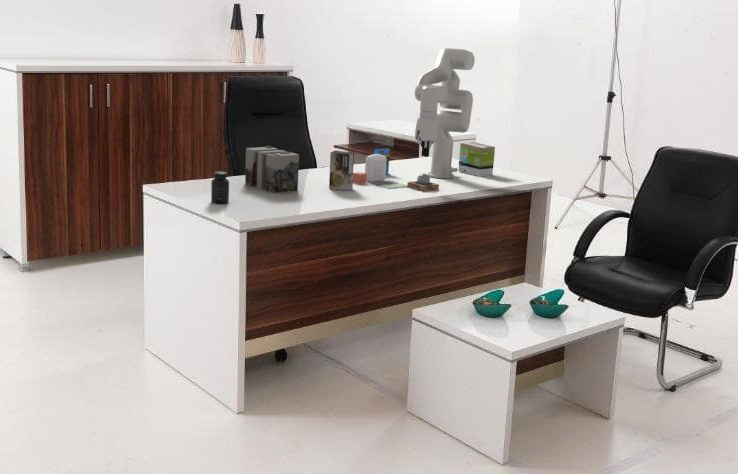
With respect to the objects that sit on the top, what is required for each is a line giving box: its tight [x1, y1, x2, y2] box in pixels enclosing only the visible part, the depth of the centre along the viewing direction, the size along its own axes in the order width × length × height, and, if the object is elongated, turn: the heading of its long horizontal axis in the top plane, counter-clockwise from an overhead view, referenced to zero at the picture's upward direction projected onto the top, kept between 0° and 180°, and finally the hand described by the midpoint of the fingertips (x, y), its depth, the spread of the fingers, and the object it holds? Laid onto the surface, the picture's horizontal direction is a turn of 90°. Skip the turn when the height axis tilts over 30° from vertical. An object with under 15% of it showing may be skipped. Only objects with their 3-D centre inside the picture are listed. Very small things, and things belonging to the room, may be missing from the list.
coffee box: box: [328, 150, 355, 192], centre depth 395 cm, size 9×6×16 cm
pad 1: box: [369, 179, 399, 187], centre depth 413 cm, size 12×6×1 cm, turn 129°
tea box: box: [457, 141, 496, 178], centre depth 451 cm, size 15×10×15 cm, turn 41°
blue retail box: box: [373, 148, 391, 175], centre depth 436 cm, size 9×4×12 cm, turn 121°
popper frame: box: [406, 180, 440, 192], centre depth 407 cm, size 10×10×2 cm
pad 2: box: [379, 182, 408, 190], centre depth 408 cm, size 12×6×1 cm, turn 129°
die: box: [353, 171, 367, 185], centre depth 411 cm, size 4×4×5 cm
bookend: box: [244, 145, 300, 194], centre depth 389 cm, size 16×25×16 cm, turn 40°
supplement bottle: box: [210, 170, 230, 205], centre depth 354 cm, size 7×7×12 cm
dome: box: [416, 173, 431, 185], centre depth 406 cm, size 6×6×5 cm
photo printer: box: [364, 153, 387, 183], centre depth 417 cm, size 10×4×12 cm, turn 123°
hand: (425, 156), depth 403 cm, fingers closed
